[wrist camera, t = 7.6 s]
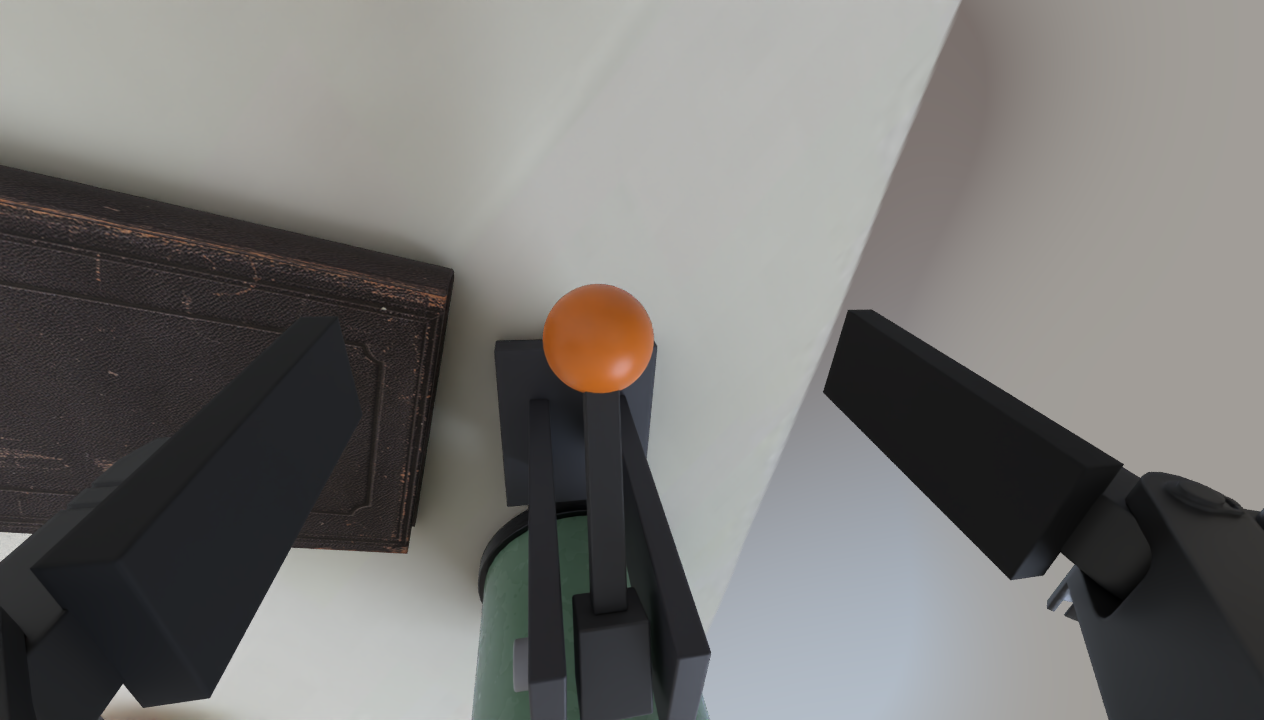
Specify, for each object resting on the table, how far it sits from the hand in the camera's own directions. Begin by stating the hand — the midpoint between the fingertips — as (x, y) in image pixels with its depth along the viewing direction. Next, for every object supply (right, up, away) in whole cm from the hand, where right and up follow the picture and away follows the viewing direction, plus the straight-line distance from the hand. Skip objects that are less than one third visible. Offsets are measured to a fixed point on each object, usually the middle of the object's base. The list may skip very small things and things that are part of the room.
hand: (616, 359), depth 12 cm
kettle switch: (-1, -4, +5) cm, 6 cm away
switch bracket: (-3, -3, +14) cm, 15 cm away
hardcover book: (-21, 0, +9) cm, 22 cm away
